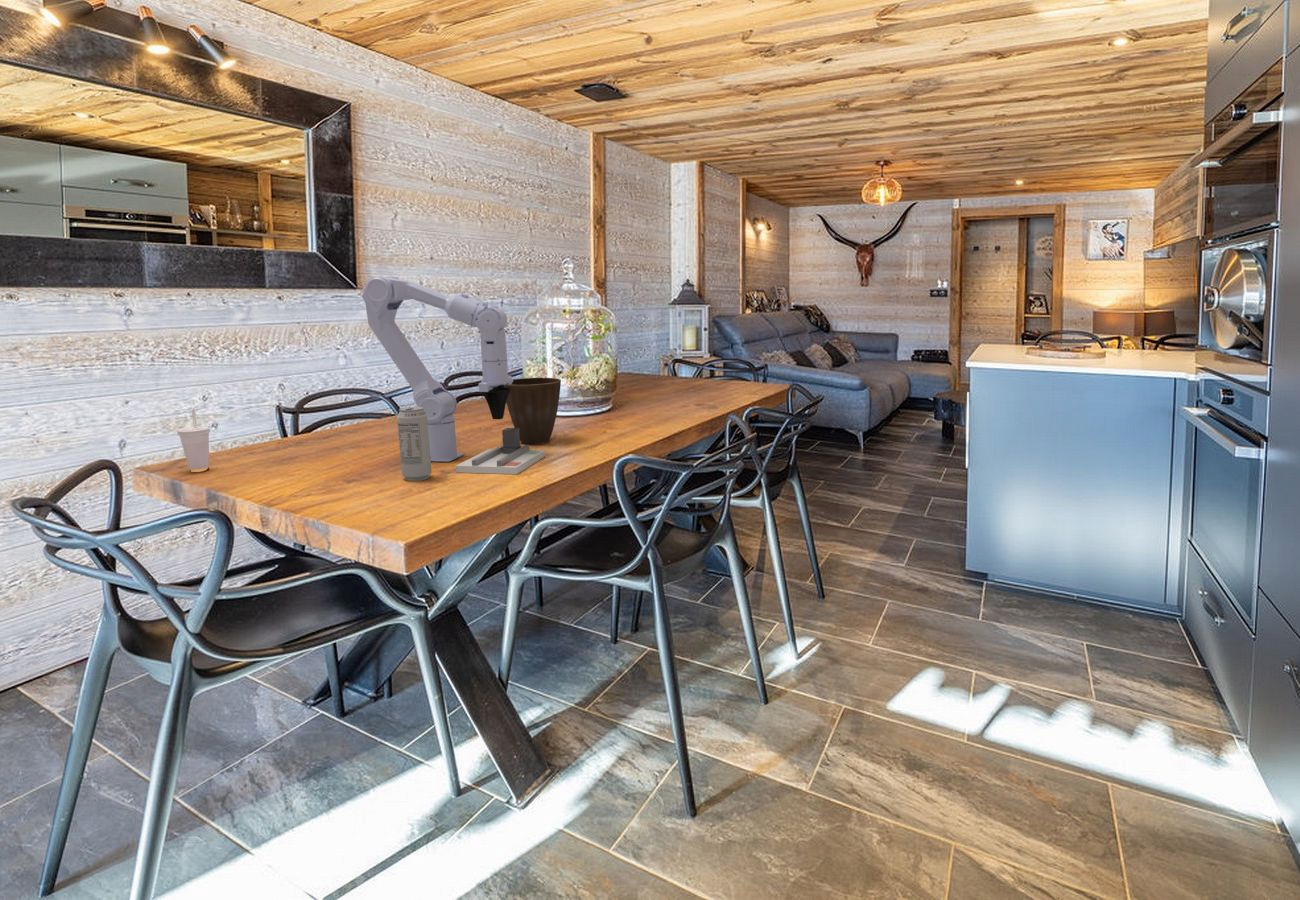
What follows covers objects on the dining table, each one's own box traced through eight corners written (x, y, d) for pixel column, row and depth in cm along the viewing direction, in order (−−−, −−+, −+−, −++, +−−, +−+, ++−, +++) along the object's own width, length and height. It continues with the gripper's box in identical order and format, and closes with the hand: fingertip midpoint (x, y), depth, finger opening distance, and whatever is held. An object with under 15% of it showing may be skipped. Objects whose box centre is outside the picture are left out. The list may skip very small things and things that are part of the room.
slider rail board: (456, 472, 167) (455, 460, 166) (489, 455, 184) (489, 444, 183) (516, 474, 164) (515, 462, 163) (544, 456, 181) (544, 445, 181)
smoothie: (221, 468, 175) (213, 408, 172) (195, 475, 169) (186, 412, 166) (203, 466, 178) (194, 407, 175) (176, 472, 172) (167, 411, 169)
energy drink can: (437, 476, 164) (432, 406, 161) (418, 482, 158) (412, 411, 155) (415, 473, 166) (410, 405, 163) (396, 480, 161) (389, 409, 158)
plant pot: (538, 450, 189) (534, 385, 186) (493, 444, 197) (489, 382, 193) (575, 439, 201) (572, 379, 198) (531, 435, 209) (528, 376, 206)
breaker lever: (502, 453, 178) (501, 430, 177) (509, 450, 182) (507, 427, 181) (514, 453, 177) (513, 430, 176) (521, 450, 181) (519, 427, 180)
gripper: (498, 363, 168) (501, 424, 171) (522, 357, 182) (525, 414, 185) (468, 363, 169) (472, 423, 172) (494, 357, 183) (498, 413, 186)
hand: (497, 418), depth 178 cm, fingers closed
